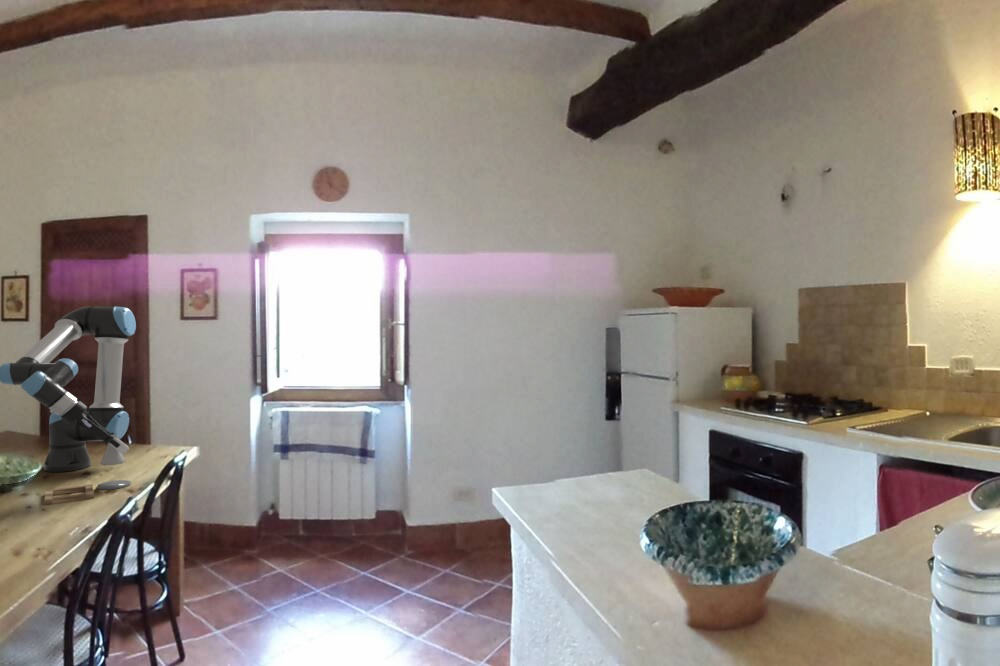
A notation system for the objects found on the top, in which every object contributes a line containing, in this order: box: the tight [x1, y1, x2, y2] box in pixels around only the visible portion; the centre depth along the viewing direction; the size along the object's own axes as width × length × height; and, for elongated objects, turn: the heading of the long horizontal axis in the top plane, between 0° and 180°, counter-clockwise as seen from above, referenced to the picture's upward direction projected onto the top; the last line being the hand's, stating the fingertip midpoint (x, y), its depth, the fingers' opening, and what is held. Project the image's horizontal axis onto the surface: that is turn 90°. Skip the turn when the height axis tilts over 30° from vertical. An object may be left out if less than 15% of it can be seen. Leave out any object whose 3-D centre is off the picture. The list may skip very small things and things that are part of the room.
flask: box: [99, 435, 126, 466], centre depth 211 cm, size 7×7×10 cm
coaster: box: [96, 479, 132, 491], centre depth 212 cm, size 10×10×1 cm
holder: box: [44, 484, 95, 506], centre depth 199 cm, size 13×13×2 cm
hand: (125, 450), depth 213 cm, fingers closed on flask, 3 cm apart
